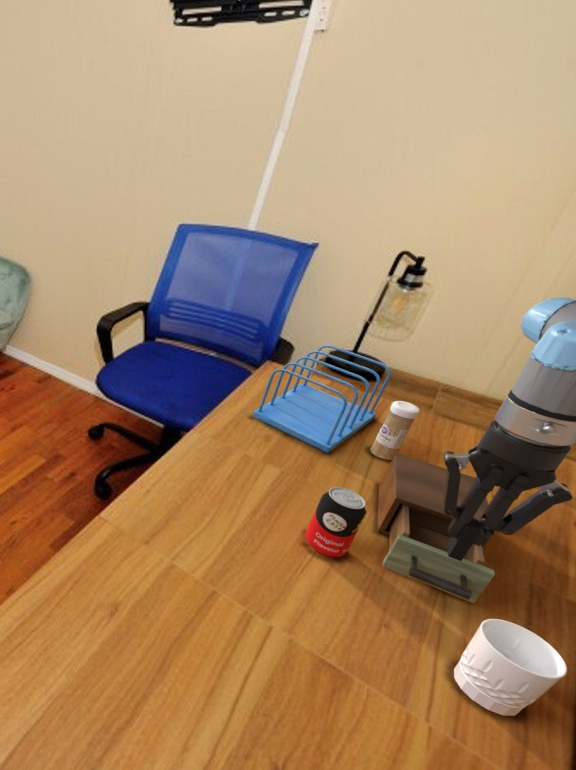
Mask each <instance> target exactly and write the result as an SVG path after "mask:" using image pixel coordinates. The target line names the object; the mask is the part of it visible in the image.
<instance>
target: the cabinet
mask: <svg viewBox="0 0 576 770" xmlns="http://www.w3.org/2000/svg"><path fill="white" fill-rule="evenodd" d="M390 461H391V462H390V463H389V466H388V467H387V469H386V471H385V473H384V475H383V477H382V479H381V481H380V483H379V485H378V503H377V531H376V532H377V533H379V534H382V535H384V536H386V537H389V538H390V521H391V519H392V517H393V516H394V514H395V512H396V510H397V508H398V507H399V505H400V503H401V504H404V505H407V506H410V507H413V508H416V509H419V510H421V511H424V512H427V513H430V514H433V515H436V516H439V517H441V518H444V519H447V520H450V521H452V520H453V518H454V517H453V516H449V515H447V514H445V512H444V505H443V500H444V493H445V485H446V477H447V470H448V469H447V467H446V468H445V467H442V466H439V465H436V464H433V463H429V462H426V461H423V460H419V459H416V458H413V457H410V456H406V455H403V454H400V453H398V452H397V453H396V454H395V456H394V457H393V459H392V460H390ZM460 474H461V478H460V485H459V492H458V499H457V506H458V507H459V506H460V504H461V503H462V501H463V499H464V498H465V496H466V495H467V493H468V491H469V490H470V488H471V487H472V485H473V483H474V482H475V480H476V477H475V476H472V475H469V474H466V473H462V472H460ZM487 497H488V496H486V498H485V499H484V501H483V503H482V504H481V506H480V507H479V509H478V510H477V512H476V514H475V515H474V517H473V518H474V519H477V520H479V522H480V518H481V516H482V514H483V513H484V511H485V510H486V508H487V507H488V505H489V502H488V501H489V500H488V498H487ZM491 537H492V536H488V538H487V539H486V541H485V542H484V544H483V545H482V550H483V549H484V547H485V545H486V544H487V543H488V541H489V540H490V539H491Z"/></svg>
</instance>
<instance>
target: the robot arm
mask: <svg viewBox="0 0 576 770" xmlns="http://www.w3.org/2000/svg"><path fill="white" fill-rule="evenodd" d="M520 329H521V332H522V334H523V335H524V337H526V338H527V339H529V340H530V341H531V342H533V343H534V344H535V345H534V346H533V348H532V349H531V351H530V354H529V357H528V358H527V360H526V361H525V363H524V365H523V367H522V369H521V371H520V373H519V374H518V376H517V377H516V380H515V382H514V383H513V385H512V387H511V389H510V391H509V392H508V394H507V395H506V397H505V399H504V400H503V402H502V404H501V405H500V407H498V410H497V411H496V413H495V415H494V420H492V421H491V422H490V423H489V425H488V427H487V428H486V430H485V431H484V434H483V436H482V438H481V439H480V441H479V442H478V444H477V445H476V446H474V447H471V448H470V449H469V450H468V452H466V453H465V452H464V453H454V452H453V451H450V450H448V451H445V452H443V458H444V465H445V467H446V469H448V470H447V477H446V485H445V493H444V500H443V505H444V512H445V514H447V515H449V516H453V517H454V518H453V520H452V522H451V523H450V525H449V526H448V531H449V536H452V538H451V540H450V541H449V543H448V544H447V551H448V557H451V558H453V559H456V560H459V561H462V559H463V558H464V556H465V555H466V553H467V552H468V550H469V549H470V547H471V546H472V544H475V545H477V546H481V545H483V544H484V542H485V541H486V539H487V538H488V536H491V537H492V536H494V535H495V533H497V532H499V533H502V534H503V535H506V536H512V535H514V534H515V533H517V532H518V531H520V530H521V529H523V528H524V527H525V526H526V525H528V524H529V523H531V522H532V521H534V520H535V519H537V518H538V517H539V516H541V515H542V514H543V513H545V512H546V511H548V510H549V509H551V508H552V507H553V506H555V505H559V504H562V503H567V502H570V501H572V500H573V495H572V492H571V490H570V488H569V486H568V485H567V484H566V483H563V482H560V481H559V480H557V475H556V471H557V469H558V468H559V467H560V465H562V463H563V462H564V460H565V458H566V457H567V456H568V454H569V453H570V451H571V449H572V448H571V445H574V444H575V443H576V299H575V298H571V297H560V296H559V297H552V298H548V299H545V300H543V301H541V302H540V301H539V302H538V303H536V304H535V305H533V306H532V307H531V308H529V309H528V311H526V312H525V314H524V315H523V317H522V319H521V323H520ZM469 463H470V464H471V466H472V469H473V470H474V473H475V474H476V477H475V478H476V480H475V482H474V483H473V485H472V487H471V488H470V490H469V491H468V493H467V495H466V496H465V498H464V499H463V501H462V503H461V504H460V506H459V507H458V506H457V499H458V492H459V485H460V478H461V474H460V473H461V471H463V470H464V469H466V468H467V464H469ZM495 487H497V488H498V489H497V491H496V492H495V494H494V495H493V497H492V498H491V500H490V502H488V507H487V508H486V510H485V511H484V513H483V514H482V516H481V518H480V522H479V520H477V519H474V518H473V517H474V515H475V514H476V512H477V510H478V509H479V507H480V506H481V504H482V503H483V501H484V499H485V498H486V497H488V495H489V493H492V491H493V490H494V489H495ZM540 487H541V489H538V490H537V491H535V492H534V493H533V494H532V495H530V496H529V497H528V498H526V499H524V500H523V501H522V502H521V503H519V504H518V505H517V506H516V507H514V508H513V509H511V510H510V511H509V509H510V508H511V506H512V505H513V503H514V501H517V500H518V498H519V497H520V495H522V492H526V491H530V490H532V489H533V490H534V489H536V488H540Z"/></svg>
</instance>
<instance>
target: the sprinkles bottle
mask: <svg viewBox="0 0 576 770" xmlns="http://www.w3.org/2000/svg"><path fill="white" fill-rule="evenodd" d="M420 412H421V410H420V408H419V407H418V406H417V405H416V404H414V403H411V402H408V401H404V400H395V401H393V402H392V403H391V406H390V407H389V412H388V414H387V416H386V418H385V420H384V422H383V424H382V426H381V427H380V429H379V431H378V432H377V435H376V438H375V440H374V442H373V444H372V445H371V447H370V449H369V450H370V453H371V454H372V455H374V457H376V458H379V459H381V460H385V461H392V459H393V457H394V456H395V454H396V453H397V454H398V451H399V450H400V448H401V447H402V445H403V443H404V441H405V440H406V437H407V435H408V434H409V431H410V430H411V427H412V426H413V423H414V421H415V420H416V419H417V418H418V416H419V414H420Z"/></svg>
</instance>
